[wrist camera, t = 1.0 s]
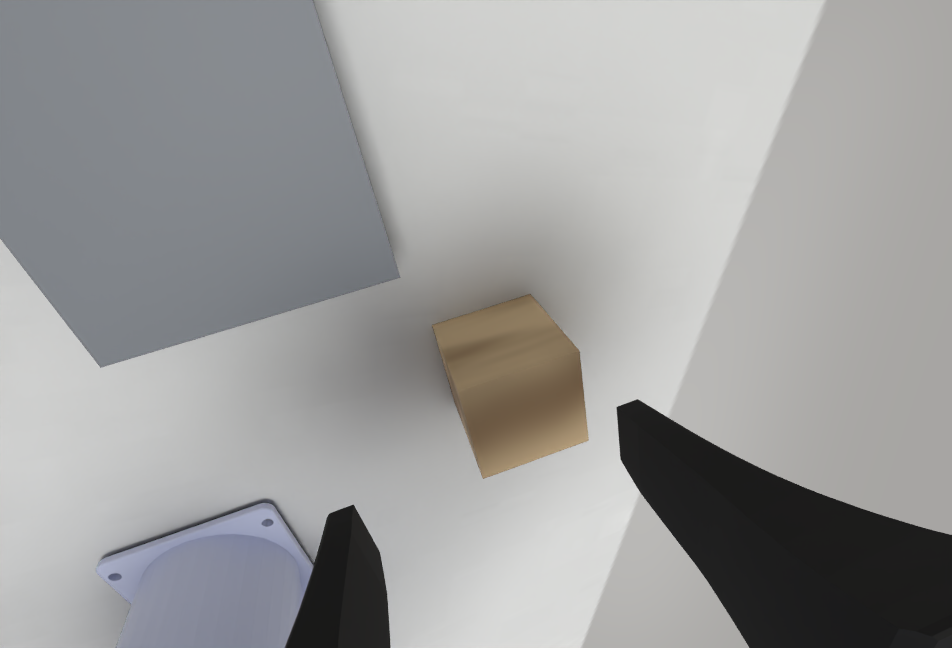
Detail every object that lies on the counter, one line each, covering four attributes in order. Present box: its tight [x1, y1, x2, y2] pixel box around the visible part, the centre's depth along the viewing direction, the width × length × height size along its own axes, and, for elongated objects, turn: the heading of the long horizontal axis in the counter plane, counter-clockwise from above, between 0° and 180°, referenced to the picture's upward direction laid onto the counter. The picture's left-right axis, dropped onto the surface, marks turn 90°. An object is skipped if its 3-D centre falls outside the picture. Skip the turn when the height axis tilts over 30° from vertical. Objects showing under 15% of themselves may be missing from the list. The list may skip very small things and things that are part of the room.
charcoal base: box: [0, 0, 400, 368], centre depth 15 cm, size 10×10×3 cm
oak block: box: [432, 294, 588, 479], centre depth 20 cm, size 5×5×5 cm
